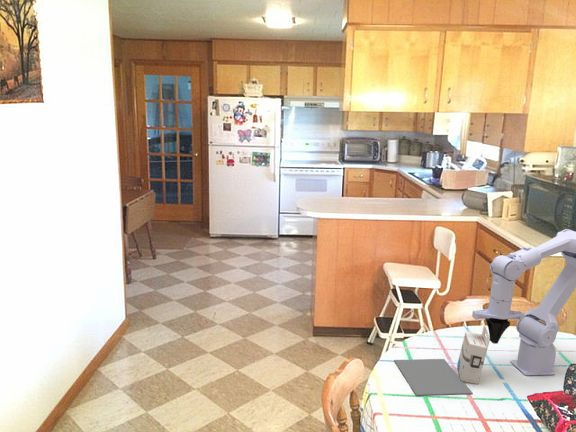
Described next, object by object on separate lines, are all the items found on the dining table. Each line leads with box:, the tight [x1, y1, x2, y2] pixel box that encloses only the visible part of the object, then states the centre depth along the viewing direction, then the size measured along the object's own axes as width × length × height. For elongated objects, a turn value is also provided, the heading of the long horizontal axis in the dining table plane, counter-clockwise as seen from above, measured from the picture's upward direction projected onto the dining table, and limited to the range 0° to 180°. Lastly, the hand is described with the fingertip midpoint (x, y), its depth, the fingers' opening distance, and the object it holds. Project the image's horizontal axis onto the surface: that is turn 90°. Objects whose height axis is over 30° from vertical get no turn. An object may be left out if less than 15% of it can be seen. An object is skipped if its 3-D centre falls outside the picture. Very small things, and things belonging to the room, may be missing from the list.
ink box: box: [456, 325, 491, 385], centre depth 134 cm, size 9×5×15 cm, turn 168°
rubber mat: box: [393, 358, 474, 397], centre depth 134 cm, size 16×18×1 cm
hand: (493, 341), depth 134 cm, fingers closed
